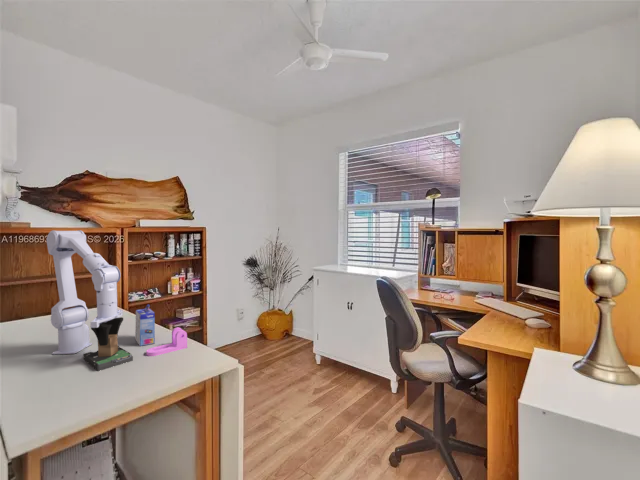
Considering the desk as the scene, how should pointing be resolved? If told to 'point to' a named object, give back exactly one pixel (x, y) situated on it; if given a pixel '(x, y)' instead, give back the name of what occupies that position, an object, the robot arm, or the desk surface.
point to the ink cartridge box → (145, 326)
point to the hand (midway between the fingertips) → (108, 342)
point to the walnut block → (109, 347)
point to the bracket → (177, 343)
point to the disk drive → (107, 359)
